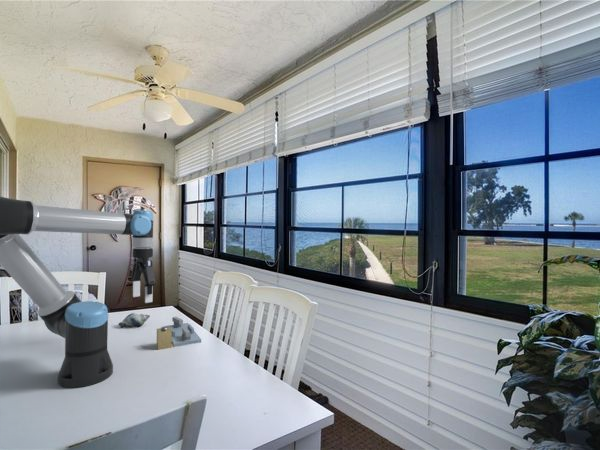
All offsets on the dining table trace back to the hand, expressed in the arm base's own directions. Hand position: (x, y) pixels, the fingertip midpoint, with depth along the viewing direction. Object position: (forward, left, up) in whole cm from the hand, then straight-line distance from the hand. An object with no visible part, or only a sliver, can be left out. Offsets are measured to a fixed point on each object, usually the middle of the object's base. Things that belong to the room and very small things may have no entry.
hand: (142, 299), depth 138 cm
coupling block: (-7, -8, -19) cm, 21 cm away
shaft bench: (+4, -17, -19) cm, 25 cm away
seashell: (+27, +1, -19) cm, 33 cm away
